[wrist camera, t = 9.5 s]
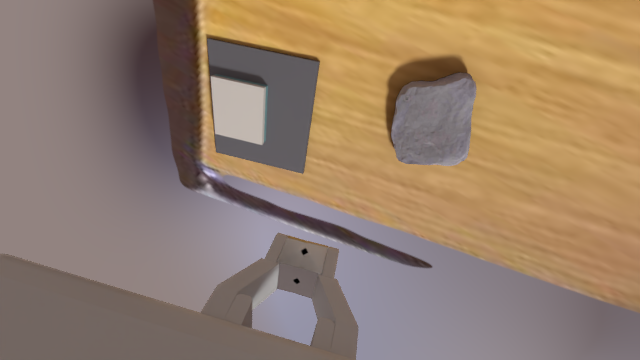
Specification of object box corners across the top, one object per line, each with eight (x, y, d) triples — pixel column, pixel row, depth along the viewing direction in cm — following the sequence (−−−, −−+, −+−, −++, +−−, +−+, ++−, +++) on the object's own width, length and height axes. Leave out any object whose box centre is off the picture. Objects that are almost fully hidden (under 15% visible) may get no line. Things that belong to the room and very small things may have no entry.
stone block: (396, 154, 42) (466, 155, 38) (391, 168, 38) (468, 171, 34) (393, 78, 37) (476, 68, 32) (387, 85, 33) (478, 76, 29)
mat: (209, 38, 36) (207, 38, 36) (319, 61, 35) (318, 62, 35) (217, 150, 47) (216, 152, 46) (303, 171, 45) (302, 173, 45)
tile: (267, 85, 38) (216, 74, 38) (263, 88, 36) (210, 76, 37) (265, 141, 43) (220, 130, 43) (261, 145, 41) (215, 133, 42)
